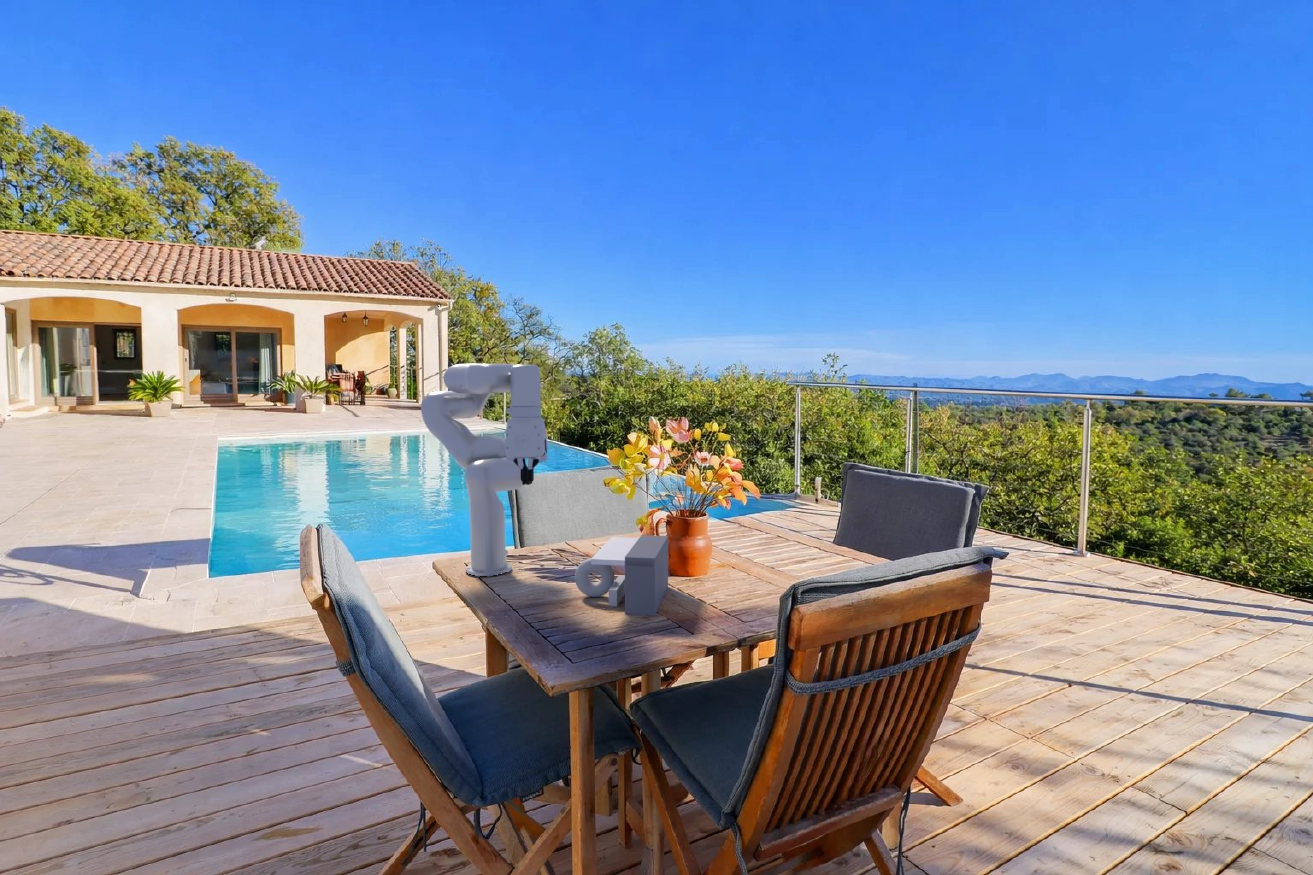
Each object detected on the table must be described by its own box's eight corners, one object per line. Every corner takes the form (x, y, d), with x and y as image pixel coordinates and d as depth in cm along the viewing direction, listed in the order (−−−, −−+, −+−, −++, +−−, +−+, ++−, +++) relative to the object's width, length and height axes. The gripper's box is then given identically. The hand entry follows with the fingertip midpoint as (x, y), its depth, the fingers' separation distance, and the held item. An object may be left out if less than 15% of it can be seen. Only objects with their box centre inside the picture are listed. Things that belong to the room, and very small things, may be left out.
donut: (574, 598, 174) (573, 559, 173) (575, 594, 178) (575, 555, 177) (614, 599, 174) (614, 559, 173) (615, 594, 178) (615, 555, 177)
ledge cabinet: (611, 584, 186) (611, 534, 185) (668, 586, 184) (668, 536, 183) (591, 612, 165) (590, 555, 163) (654, 615, 162) (654, 558, 161)
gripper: (492, 413, 178) (494, 485, 180) (549, 414, 175) (550, 487, 177) (503, 412, 185) (504, 481, 187) (558, 412, 183) (559, 482, 185)
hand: (527, 483), depth 182 cm, fingers closed
